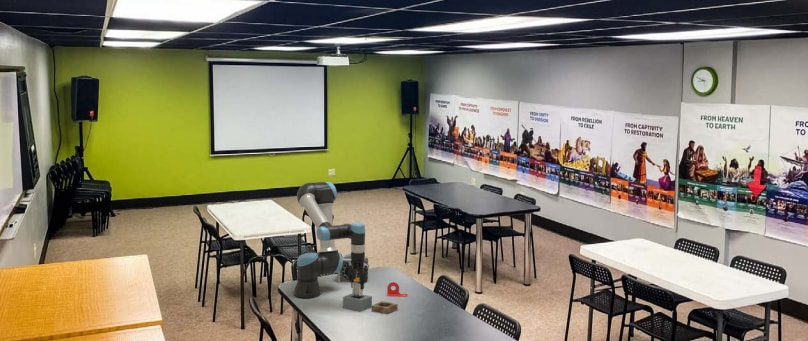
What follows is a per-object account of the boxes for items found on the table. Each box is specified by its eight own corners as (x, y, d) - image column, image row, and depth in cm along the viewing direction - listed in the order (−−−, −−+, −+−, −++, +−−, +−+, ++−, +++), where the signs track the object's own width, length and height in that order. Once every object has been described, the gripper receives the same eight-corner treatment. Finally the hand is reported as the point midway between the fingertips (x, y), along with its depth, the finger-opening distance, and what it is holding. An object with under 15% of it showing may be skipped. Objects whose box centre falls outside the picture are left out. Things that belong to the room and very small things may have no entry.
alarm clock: (335, 285, 387) (335, 256, 386) (341, 280, 400) (341, 251, 399) (364, 287, 384) (364, 257, 383) (369, 282, 397) (369, 253, 396)
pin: (351, 303, 342) (351, 278, 341) (356, 300, 346) (356, 277, 345) (358, 304, 340) (358, 280, 339) (363, 302, 344) (363, 278, 342)
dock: (342, 307, 342) (343, 297, 341) (353, 303, 350) (353, 292, 350) (361, 311, 336) (361, 300, 335) (371, 307, 344) (371, 296, 344)
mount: (371, 311, 337) (371, 305, 337) (381, 306, 346) (382, 301, 345) (387, 314, 332) (387, 308, 332) (397, 309, 340) (397, 303, 340)
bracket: (386, 297, 364) (387, 283, 363) (387, 295, 368) (387, 281, 367) (407, 298, 363) (407, 284, 362) (408, 295, 368) (408, 282, 367)
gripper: (341, 251, 342) (341, 293, 343) (366, 254, 333) (366, 298, 335) (349, 248, 348) (349, 290, 350) (374, 252, 340) (374, 295, 341)
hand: (357, 294), depth 342 cm, fingers closed on pin, 4 cm apart
